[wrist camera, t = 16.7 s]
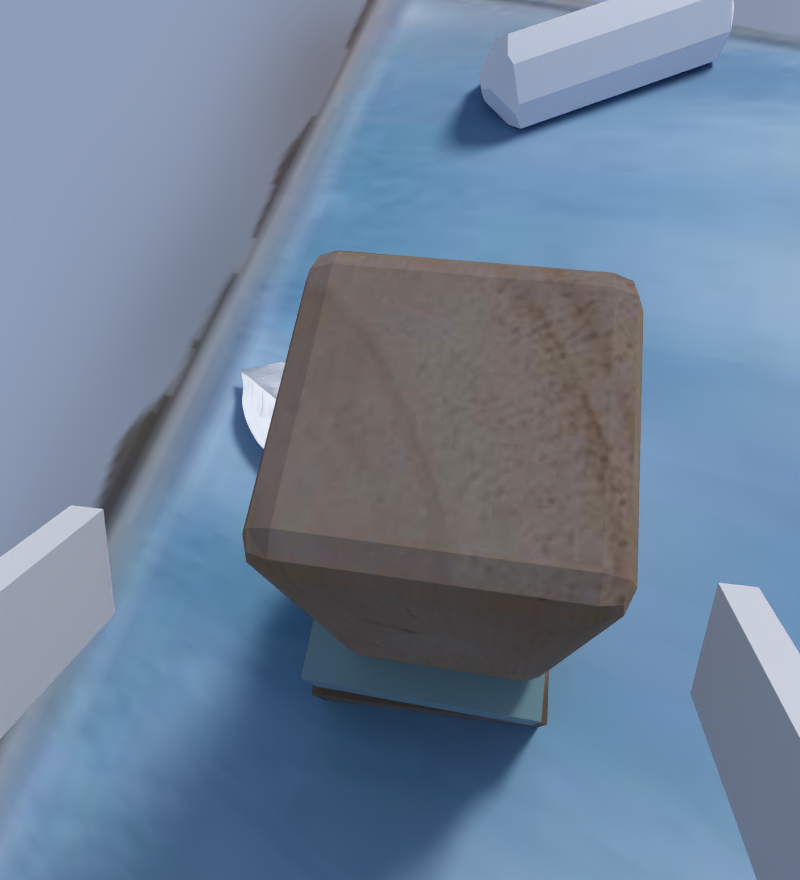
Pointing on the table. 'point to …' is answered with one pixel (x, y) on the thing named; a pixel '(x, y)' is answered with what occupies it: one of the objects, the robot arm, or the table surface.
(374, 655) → the wooden block
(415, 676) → the grey teal block
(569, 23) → the crystal
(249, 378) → the pale veined leaf
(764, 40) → the table surface
